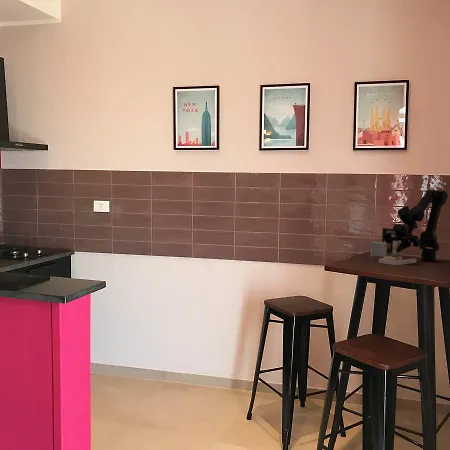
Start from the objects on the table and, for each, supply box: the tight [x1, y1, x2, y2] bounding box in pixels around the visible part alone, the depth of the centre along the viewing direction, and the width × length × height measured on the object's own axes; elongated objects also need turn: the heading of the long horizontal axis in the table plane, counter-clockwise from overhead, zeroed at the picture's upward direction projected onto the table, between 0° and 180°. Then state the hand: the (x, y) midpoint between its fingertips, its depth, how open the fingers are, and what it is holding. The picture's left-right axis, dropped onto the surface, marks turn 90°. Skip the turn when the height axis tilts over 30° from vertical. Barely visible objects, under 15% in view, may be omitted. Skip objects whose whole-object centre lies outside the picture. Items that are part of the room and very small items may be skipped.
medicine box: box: [369, 241, 387, 258], centre depth 291 cm, size 8×4×9 cm, turn 84°
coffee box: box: [380, 227, 397, 256], centre depth 299 cm, size 9×6×16 cm
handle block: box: [382, 241, 403, 261], centre depth 264 cm, size 7×6×11 cm
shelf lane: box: [378, 255, 417, 266], centre depth 267 cm, size 19×10×3 cm, turn 130°
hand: (393, 251), depth 264 cm, fingers closed on handle block, 3 cm apart
